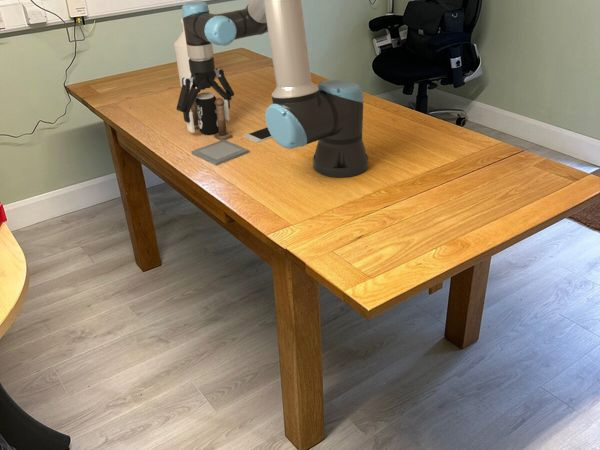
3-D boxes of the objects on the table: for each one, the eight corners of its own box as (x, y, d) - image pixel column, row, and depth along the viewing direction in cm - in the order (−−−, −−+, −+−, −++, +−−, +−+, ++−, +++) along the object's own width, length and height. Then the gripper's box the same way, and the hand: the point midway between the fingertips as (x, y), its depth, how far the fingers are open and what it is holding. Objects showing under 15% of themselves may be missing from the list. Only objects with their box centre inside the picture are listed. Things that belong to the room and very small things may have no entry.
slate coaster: (249, 152, 171) (249, 149, 171) (216, 165, 164) (216, 162, 164) (224, 141, 179) (223, 139, 178) (191, 153, 172) (191, 151, 171)
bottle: (207, 88, 224) (199, 21, 212) (177, 89, 225) (167, 22, 212) (212, 79, 235) (204, 14, 222) (182, 80, 235) (173, 15, 222)
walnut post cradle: (232, 137, 182) (228, 97, 175) (222, 141, 179) (217, 101, 173) (198, 123, 193) (193, 85, 187) (188, 126, 191) (183, 88, 184)
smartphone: (242, 137, 182) (242, 135, 182) (281, 124, 190) (281, 122, 190) (256, 144, 177) (256, 141, 177) (295, 130, 186) (295, 127, 185)
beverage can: (216, 136, 183) (212, 99, 177) (196, 135, 184) (191, 98, 178) (223, 128, 188) (219, 92, 182) (203, 127, 190) (199, 91, 183)
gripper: (226, 47, 184) (232, 111, 195) (158, 64, 169) (168, 133, 180) (241, 51, 179) (247, 117, 190) (172, 69, 164) (182, 139, 175)
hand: (209, 125), depth 185 cm, fingers open, 13 cm apart
